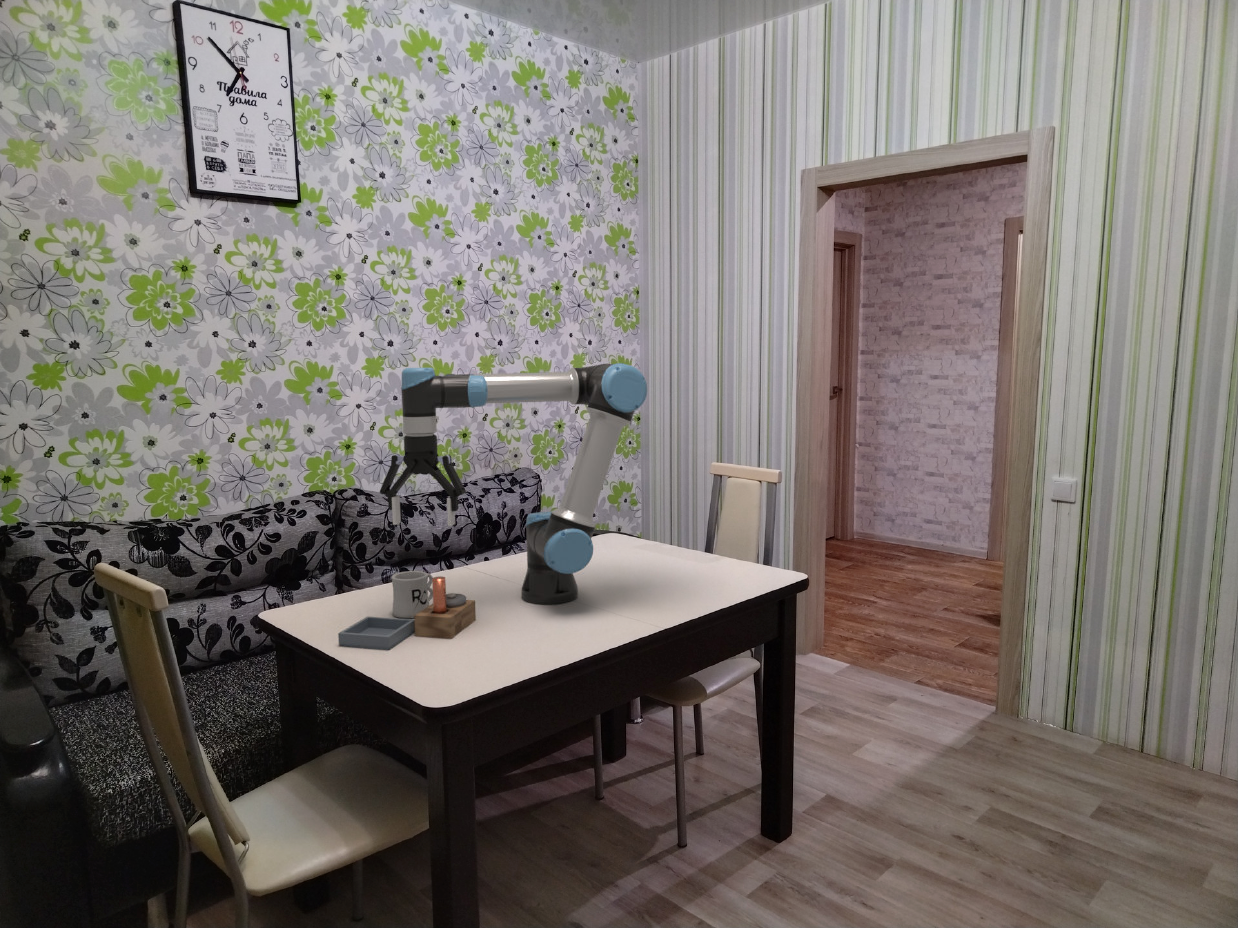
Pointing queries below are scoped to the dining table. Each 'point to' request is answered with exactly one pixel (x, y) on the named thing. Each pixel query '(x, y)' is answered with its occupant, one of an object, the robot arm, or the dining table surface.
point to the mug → (411, 593)
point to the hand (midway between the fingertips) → (424, 524)
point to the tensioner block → (446, 618)
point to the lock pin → (439, 595)
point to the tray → (377, 633)
